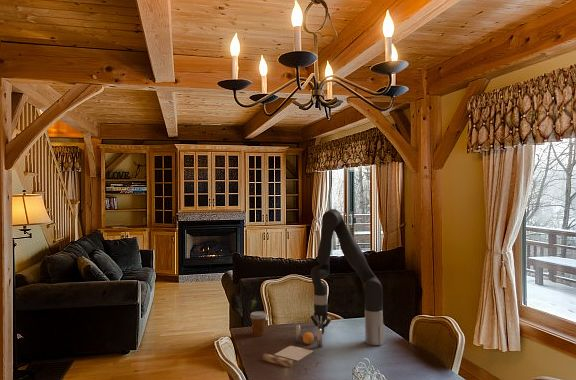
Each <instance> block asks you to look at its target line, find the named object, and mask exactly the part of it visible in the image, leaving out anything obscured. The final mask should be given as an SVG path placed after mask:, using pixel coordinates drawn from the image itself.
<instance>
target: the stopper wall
mask: <svg viewBox="0 0 576 380" xmlns="http://www.w3.org/2000/svg"><path fill="white" fill-rule="evenodd" d="M262 361H265V362H269V363H272V364H276V365H280V366H284V367H288V368H291V367H293V365H294V362H293V361H294V360H293V359H289V358H285V357H281V356H277V355H274V354H269V353H262Z"/></svg>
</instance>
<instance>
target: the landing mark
mask: <svg viewBox="0 0 576 380" xmlns="http://www.w3.org/2000/svg"><path fill="white" fill-rule="evenodd" d="M313 352H314V350H311V349H307V348H303V347H299V346H296V345H295V346H294V345H289V346H287V347H285V348H283V349H282V350H280V351H278V352H276V353H274V354H273V355H274V356H278V357H282V358H286V359H290V360H293V361H297V362H299V361H301V360H302V359H303V358H305V357H307V356H309V355H310V354H311V353H313Z"/></svg>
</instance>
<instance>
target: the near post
mask: <svg viewBox="0 0 576 380" xmlns="http://www.w3.org/2000/svg"><path fill="white" fill-rule="evenodd" d="M316 344H317V345H316V347H317V348H318V349H320V348H321V349H322V348H323V334H322V329H321V328H316Z"/></svg>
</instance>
